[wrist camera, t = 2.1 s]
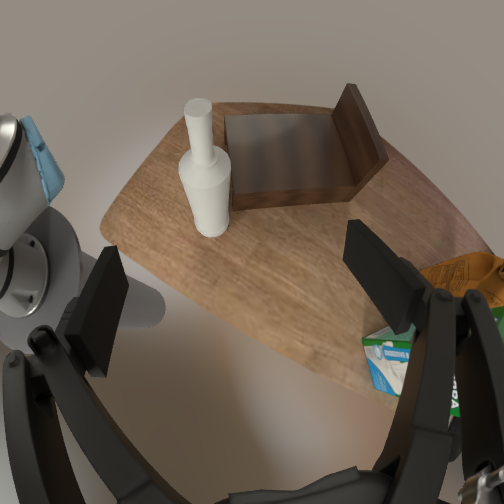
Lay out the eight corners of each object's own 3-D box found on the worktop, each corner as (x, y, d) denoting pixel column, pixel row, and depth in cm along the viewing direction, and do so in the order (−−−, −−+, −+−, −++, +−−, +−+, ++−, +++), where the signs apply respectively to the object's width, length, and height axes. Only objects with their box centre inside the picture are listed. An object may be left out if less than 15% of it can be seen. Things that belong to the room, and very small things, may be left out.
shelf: (233, 211, 43) (236, 162, 30) (224, 137, 46) (225, 79, 33) (349, 201, 45) (389, 159, 32) (329, 134, 49) (355, 84, 35)
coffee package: (437, 346, 41) (533, 345, 19) (395, 309, 42) (498, 291, 20) (457, 301, 43) (546, 281, 22) (418, 262, 44) (511, 223, 23)
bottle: (188, 228, 42) (148, 119, 18) (206, 201, 43) (190, 77, 19) (218, 245, 42) (207, 145, 17) (235, 216, 43) (246, 98, 19)
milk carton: (416, 364, 40) (533, 375, 15) (374, 388, 38) (491, 426, 14) (404, 317, 41) (526, 300, 17) (360, 338, 40) (486, 343, 16)
